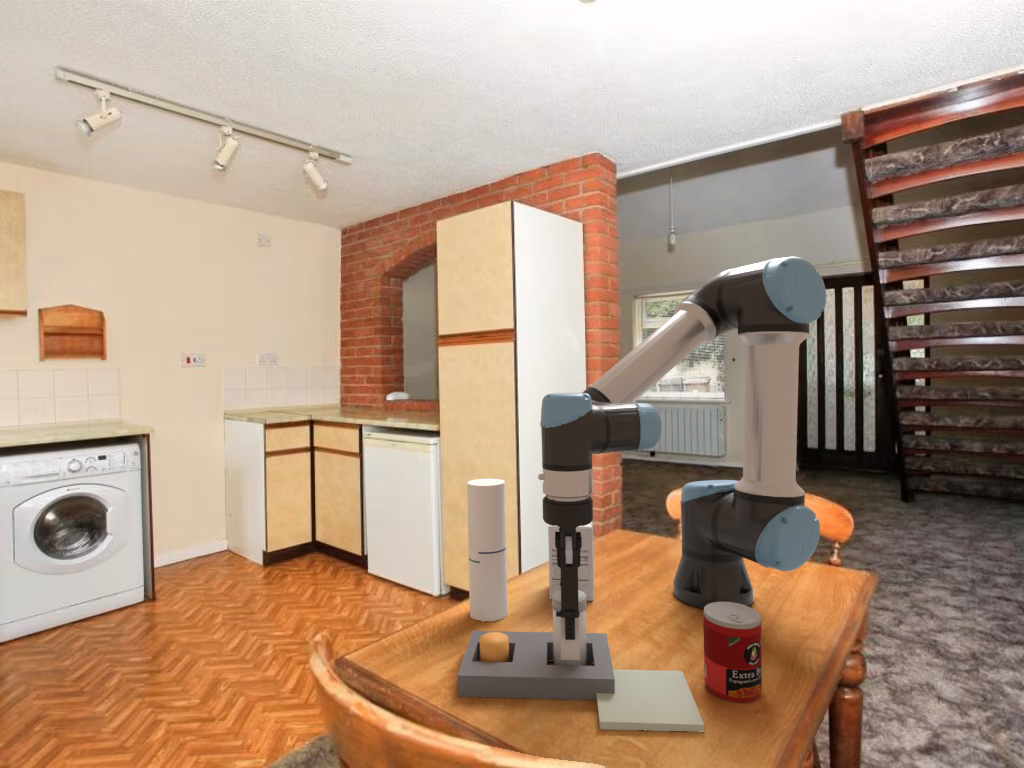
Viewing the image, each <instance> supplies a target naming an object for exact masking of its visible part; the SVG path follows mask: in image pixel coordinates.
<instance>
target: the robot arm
mask: <svg viewBox="0 0 1024 768" xmlns="http://www.w3.org/2000/svg"><path fill="white" fill-rule="evenodd" d="M826 304H827V290H826V286H825V283H824V279H823V278H822V275H821V274H820V272H819V271H818V270H816V267H815V266H814V265H813V264H812V262H810V261H809V260H807V259H805V258H803V257H799V256H786V257H785V256H784V257H778V258H777V257H775V258H771V259H768V260H765V261H761V262H757V263H752V264H747V265H744V266H739V267H732V268H729V269H726V270H723V271H721V272H720V273H718V274H716V275H715V276H713V277H710V279H708V280H707V281H705V282H704V283H703V284H701V285H700V286H699V287H698V288H696V289H695V290H694V291H692V293H690V294H689V295H688V296H687V297H685V298H684V299H683V300H682V301H680V303H678V304H677V305H676V306H675V308H674V312H673V315H672V316H671V317H669V319H667V320H666V321H665V322H664V323H663V324H662V325H660V326H659V327H658V328H657V329H656V330H654V331H653V332H652V333H651V334H650V335H649V336H647V337H646V338H645V339H644V340H643V341H642V342H640V343H639V344H638V345H637V346H635V348H633V349H632V350H631V351H630V352H629V353H627V354H626V355H624V357H623V358H621V359H620V360H619V361H618V362H617V363H616V364H614V365H613V366H612V367H611V368H609V370H607V371H606V372H605V373H604V374H603V375H601V376H600V377H598V378H597V380H595V381H594V382H593V383H592V384H591V385H590V386H589V387H587V388H585V390H584V391H582V392H558V393H557V392H556V393H555V392H553V393H547V394H546V395H544V396H543V398H542V401H541V409H540V410H541V411H540V422H539V423H540V425H539V426H540V427H541V428H540V432H541V458H542V459H541V460H542V461H541V462H542V463H541V466H542V469H541V470H542V471H541V472H542V473H539V474H538V476H537V479H538V480H540V481H543V482H542V493H543V494H544V495H545V496H544V497H543V498H542V520H543V521H544V522H545V524H547V525H548V526H549V525H552V526H558V527H560V528H559V531H560V532H555V547H556V549H557V565H558V567H560V569H561V581H560V586H561V610H560V612H556V617H560V628H561V660H580V650H579V615H580V612H579V607H578V567H580V549H581V547H582V537H581V532H576V527H578V526H585V525H588V524H589V523H591V522H592V520H593V519H594V505H593V503H594V500H593V498H592V496H591V495H592V494H594V480H593V479H594V477H593V476H594V475H593V474H594V473H593V455H599V454H606V453H607V454H610V453H620V452H639V451H644V450H648V449H649V450H650V449H652V448H654V447H656V446H657V445H658V443H659V441H660V439H661V437H662V423H663V422H662V419H661V418H662V417H661V415H660V414H659V412H658V409H656V407H654V406H653V405H652V404H651V403H646V402H645V403H644V402H637V401H638V399H640V398H641V397H642V396H643V395H644V394H645V393H647V392H648V391H649V390H650V389H651V388H652V387H653V386H655V385H656V384H657V383H658V382H659V381H660V380H661V379H662V378H664V377H665V376H666V375H667V374H668V373H669V372H670V371H672V370H673V369H674V368H675V367H676V366H677V365H678V364H680V362H682V361H683V360H684V359H686V357H687V356H689V355H690V354H691V353H693V351H694V350H695V349H697V348H698V347H699V346H700V345H706V344H710V343H711V342H713V341H714V340H715V339H716V338H717V337H719V336H720V335H722V334H725V333H727V332H731V331H734V330H737V337H738V338H739V339H740V340H741V341H742V343H744V345H745V346H746V349H745V351H746V352H745V353H746V354H745V355H746V356H745V384H744V385H745V391H744V392H745V393H744V423H743V426H744V427H743V428H744V429H743V431H744V433H743V463H742V477H741V479H740V480H735V479H714V480H713V479H711V480H710V479H709V480H698V481H690V482H688V483H685V484H684V485H683V487H682V488H681V495H680V496H681V497H680V499H681V500H680V502H679V503H680V522H681V523H680V524H681V525H680V526H681V528H680V529H681V556H680V559H679V560H680V561H679V563H678V566H677V568H676V569H677V570H676V571H675V576H674V578H673V582H672V583H673V586H672V587H673V591H672V592H673V595H674V596H675V598H677V599H678V600H679V601H681V602H683V603H684V604H687V605H690V606H691V607H696V608H699V609H704V607H705V606H706V605H708V604H710V603H714V602H734V603H739V604H742V605H746V606H748V607H750V606H751V605H752V604H753V602H754V588H753V585H752V582H751V579H750V576H749V573H748V570H747V567H746V564H745V561H744V559H746V560H748V561H751V562H753V563H756V564H759V565H760V566H762V567H763V568H769V569H774V570H778V571H781V572H791V571H794V570H797V569H799V568H801V567H802V566H804V565H805V564H806V563H807V562H808V560H809V559H810V558H811V557H812V556H813V554H814V552H815V551H816V548H817V547H818V544H819V541H820V537H821V536H820V534H821V524H820V521H819V518H818V517H817V515H816V512H815V511H813V510H812V509H811V508H810V507H808V506H805V505H806V500H805V499H806V493H805V492H806V491H805V490H804V489H803V488H802V487H801V486H800V485H799V484H798V483H797V480H796V479H797V478H796V476H797V475H796V473H797V446H798V445H797V443H798V442H797V440H798V439H797V438H798V437H797V435H798V407H799V405H798V403H799V399H798V398H799V364H800V363H799V362H800V359H799V358H800V345H801V344H802V343H803V342H804V341H805V340H806V339H807V338H808V337H810V324H812V323H813V322H815V321H817V320H818V319H819V318H820V317H821V316H822V313H823V312H824V310H825V308H826Z"/></svg>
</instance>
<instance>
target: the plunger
mask: <svg viewBox="0 0 1024 768" xmlns="http://www.w3.org/2000/svg"><path fill="white" fill-rule="evenodd" d="M479 662H509V638H508V636H507V635H506V634H503V633H499V632H491V633H487V634H484V635H482V636H481V637H480V661H479Z"/></svg>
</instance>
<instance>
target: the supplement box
mask: <svg viewBox="0 0 1024 768" xmlns="http://www.w3.org/2000/svg"><path fill="white" fill-rule="evenodd" d="M593 527H594V525H593V520H592V522H591V523H589V524H588V525H585V526H578V527H576V532H581V537H582V547H581V549H580V567H578V590H581V591H583V592H584V593H585V594H586V602H594V596H595V595H594V594H595V574H594V573H595V568H594V567H595V565H594V564H595V563H594V532H593V531H594V528H593ZM547 528H548V530H547V531H548V533H547V534H548V572H549V573H548V580H549V581H548V582H549V600H552V594H553V592H555V591H556V590H559V589H561V586H560V581H561V569H560V567H558V565H557V549H556V547H555V532H560V531H559V528H560V527H558V526H552V525H549V524H548V527H547Z"/></svg>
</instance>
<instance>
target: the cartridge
mask: <svg viewBox="0 0 1024 768" xmlns="http://www.w3.org/2000/svg"><path fill="white" fill-rule="evenodd" d="M587 602H588V601H586V594H585V593H584V592H583V591H581V590H578V607H579V612H580V615H579V650H580V660H561V628H560V617H556V612H560V610H561V589H559V590H556V591H555V592H553V594H552V599H551V608H552V632H553V660H554V661H553V665H573V666H588V662H587V647H586V633H587V607H588V606H587Z"/></svg>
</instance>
